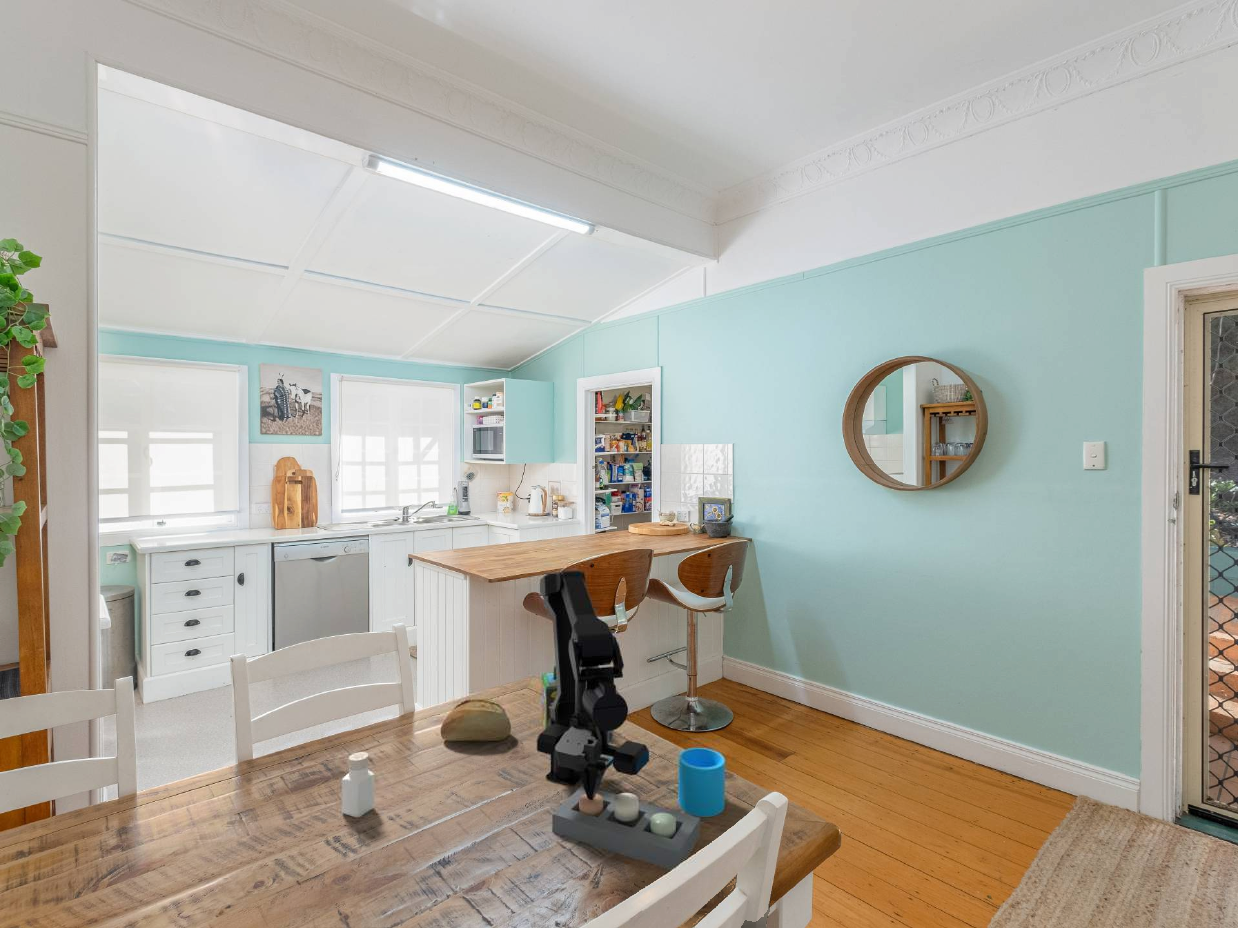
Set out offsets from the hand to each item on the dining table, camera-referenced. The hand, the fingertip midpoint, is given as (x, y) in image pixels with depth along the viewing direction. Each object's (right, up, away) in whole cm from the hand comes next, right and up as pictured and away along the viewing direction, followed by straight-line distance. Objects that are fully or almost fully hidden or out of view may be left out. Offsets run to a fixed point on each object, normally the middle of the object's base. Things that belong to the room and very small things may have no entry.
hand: (591, 798), depth 105 cm
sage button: (+12, -3, -6) cm, 13 cm away
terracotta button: (0, -3, 0) cm, 3 cm away
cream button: (+6, -1, -3) cm, 7 cm away
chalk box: (-8, -4, +37) cm, 38 cm away
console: (+6, -4, -3) cm, 8 cm away
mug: (+19, -5, +8) cm, 21 cm away
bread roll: (-27, -4, +32) cm, 41 cm away
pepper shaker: (-40, -4, +3) cm, 41 cm away
